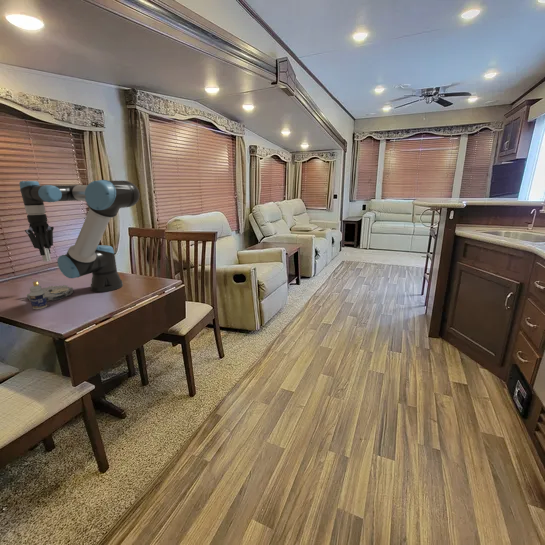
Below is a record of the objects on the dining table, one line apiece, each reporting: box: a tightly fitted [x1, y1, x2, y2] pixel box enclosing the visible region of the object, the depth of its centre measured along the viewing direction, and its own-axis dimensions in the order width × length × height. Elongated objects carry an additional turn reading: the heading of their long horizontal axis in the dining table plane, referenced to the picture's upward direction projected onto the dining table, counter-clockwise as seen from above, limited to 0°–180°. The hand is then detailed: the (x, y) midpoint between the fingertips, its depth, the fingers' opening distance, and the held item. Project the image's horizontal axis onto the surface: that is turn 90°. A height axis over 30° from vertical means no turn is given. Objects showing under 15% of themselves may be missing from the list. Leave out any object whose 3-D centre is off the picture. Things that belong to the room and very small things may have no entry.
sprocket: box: [26, 280, 74, 300], centre depth 146 cm, size 18×18×7 cm
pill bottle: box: [28, 285, 48, 310], centre depth 132 cm, size 5×5×10 cm
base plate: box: [28, 290, 74, 303], centre depth 147 cm, size 18×18×1 cm
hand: (47, 260), depth 149 cm, fingers closed
